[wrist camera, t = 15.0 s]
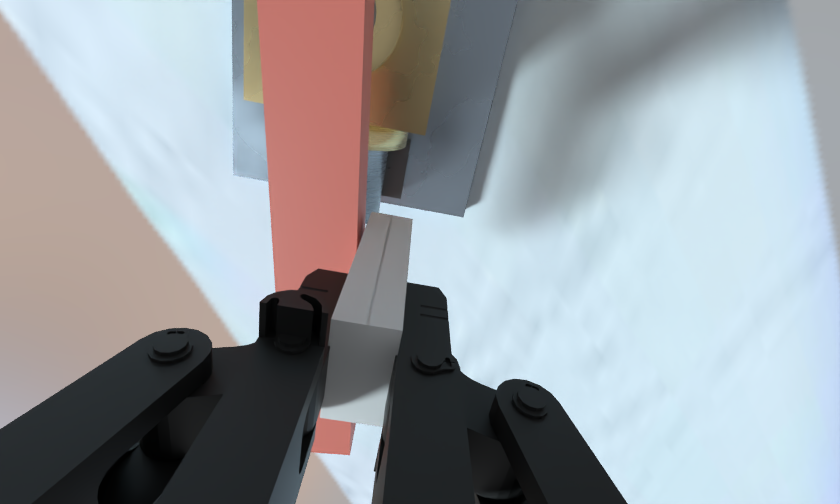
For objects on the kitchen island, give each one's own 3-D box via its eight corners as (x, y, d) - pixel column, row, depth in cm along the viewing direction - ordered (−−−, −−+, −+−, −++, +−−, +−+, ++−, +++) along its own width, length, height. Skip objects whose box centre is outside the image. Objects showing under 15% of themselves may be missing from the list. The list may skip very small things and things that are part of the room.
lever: (296, -40, 12) (252, -76, 9) (381, -31, 12) (366, -63, 9) (308, 387, 20) (285, 450, 16) (361, 391, 20) (349, 455, 16)
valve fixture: (242, -236, 17) (64, -527, 9) (552, -156, 18) (664, -348, 10) (241, 170, 25) (145, 226, 16) (461, 210, 26) (480, 283, 17)
